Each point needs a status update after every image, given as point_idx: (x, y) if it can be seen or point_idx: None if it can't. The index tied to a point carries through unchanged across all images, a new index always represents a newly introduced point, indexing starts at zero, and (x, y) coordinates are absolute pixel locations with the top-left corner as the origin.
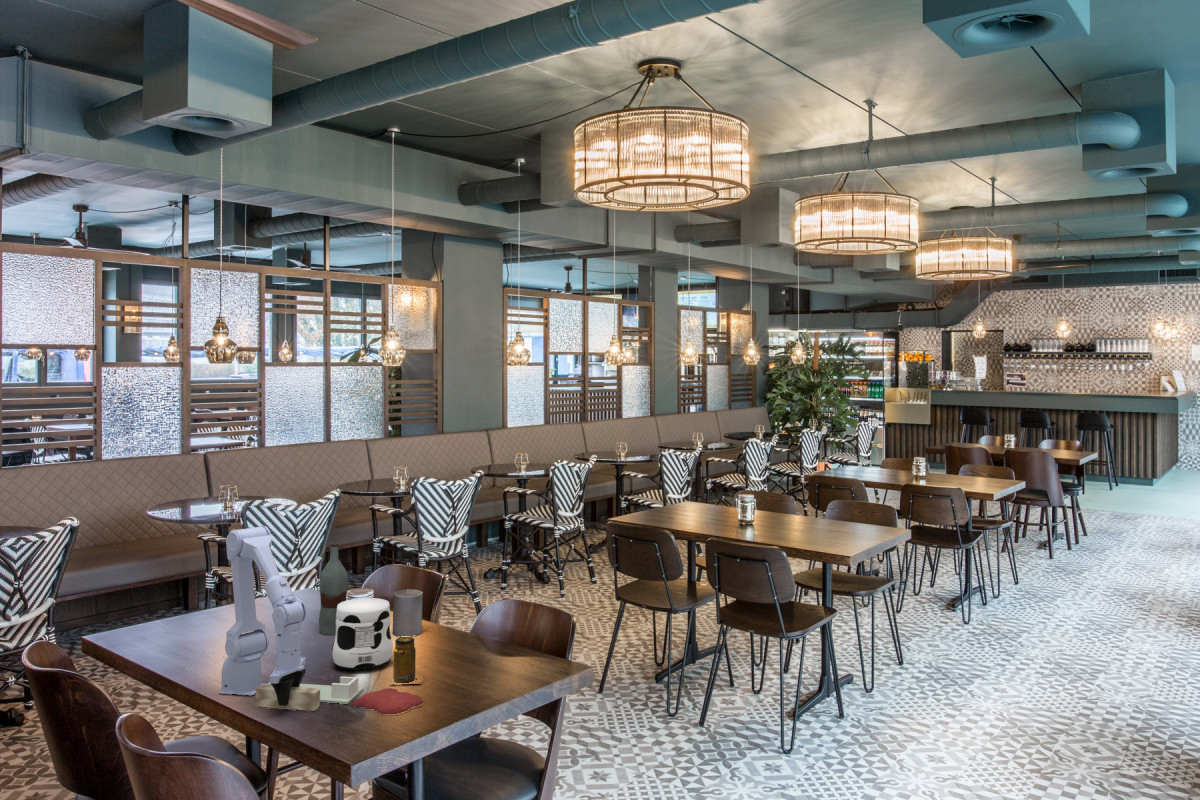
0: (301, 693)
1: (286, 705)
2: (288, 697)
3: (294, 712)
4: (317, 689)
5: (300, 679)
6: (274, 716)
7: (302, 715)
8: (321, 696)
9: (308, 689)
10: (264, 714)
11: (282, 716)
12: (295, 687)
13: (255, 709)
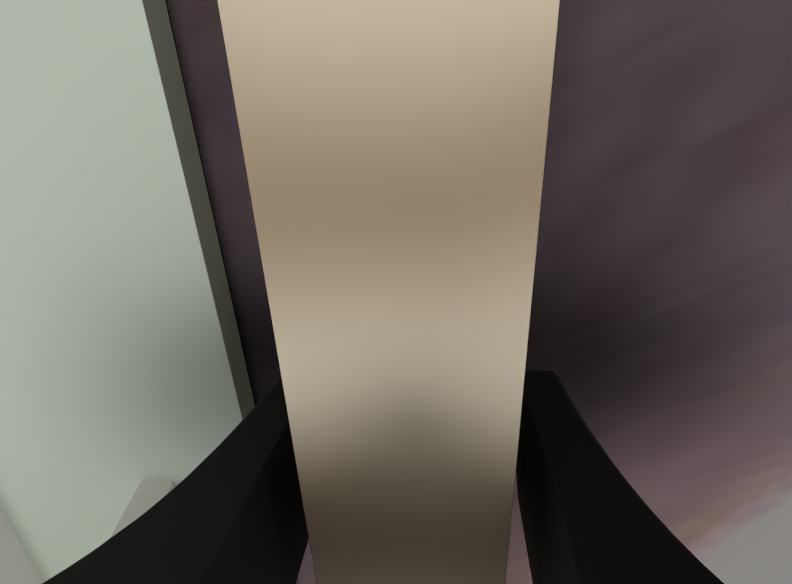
0: (523, 297)
1: (550, 372)
2: (564, 433)
3: (571, 222)
4: (287, 22)
5: (169, 558)
6: (707, 377)
7: (681, 56)
8: (35, 95)
9: (350, 245)
10: (646, 478)
11: (711, 300)
12: (323, 490)
13: (526, 573)
